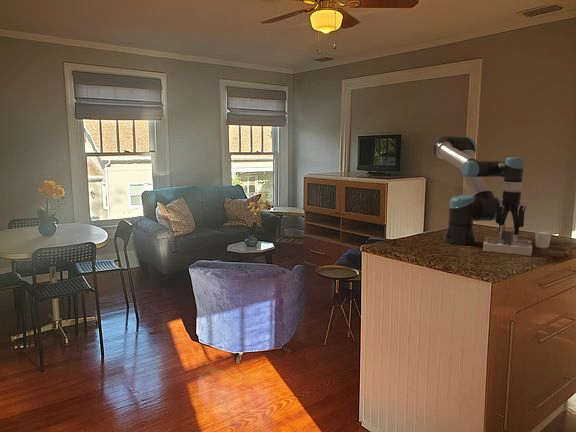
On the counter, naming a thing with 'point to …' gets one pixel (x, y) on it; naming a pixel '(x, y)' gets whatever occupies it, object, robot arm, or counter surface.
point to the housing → (508, 247)
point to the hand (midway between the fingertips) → (507, 239)
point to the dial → (507, 238)
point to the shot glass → (542, 239)
